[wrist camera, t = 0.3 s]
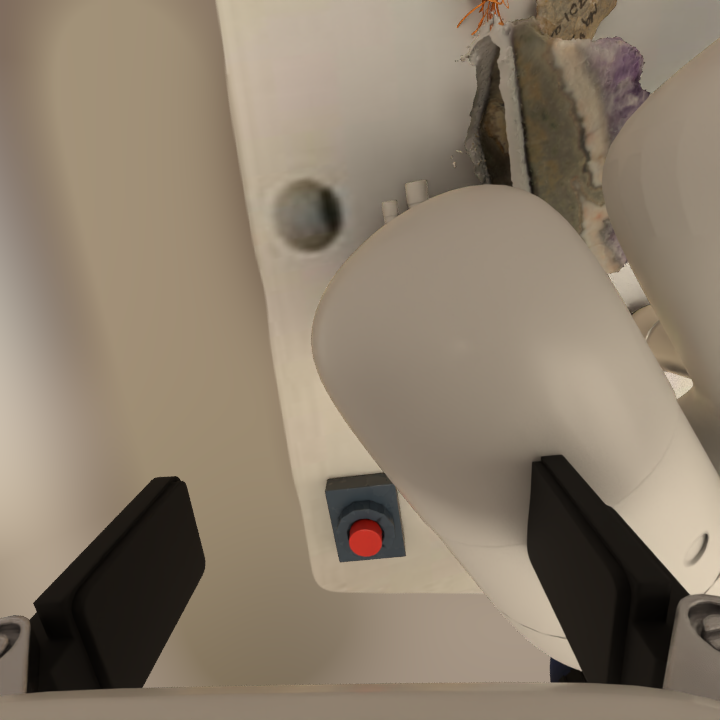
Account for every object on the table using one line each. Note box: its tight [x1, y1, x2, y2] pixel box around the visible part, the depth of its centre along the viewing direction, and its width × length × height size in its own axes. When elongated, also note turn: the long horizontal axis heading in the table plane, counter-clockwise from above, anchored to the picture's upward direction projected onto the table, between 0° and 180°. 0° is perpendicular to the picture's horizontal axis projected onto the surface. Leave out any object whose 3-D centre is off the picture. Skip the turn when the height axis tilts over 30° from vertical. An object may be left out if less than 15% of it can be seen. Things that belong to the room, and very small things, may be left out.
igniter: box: [325, 473, 406, 562], centre depth 46 cm, size 10×8×4 cm
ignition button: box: [349, 519, 382, 557], centre depth 43 cm, size 4×4×2 cm
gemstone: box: [451, 10, 650, 274], centre depth 29 cm, size 18×16×14 cm
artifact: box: [536, 0, 617, 41], centre depth 32 cm, size 7×3×10 cm
